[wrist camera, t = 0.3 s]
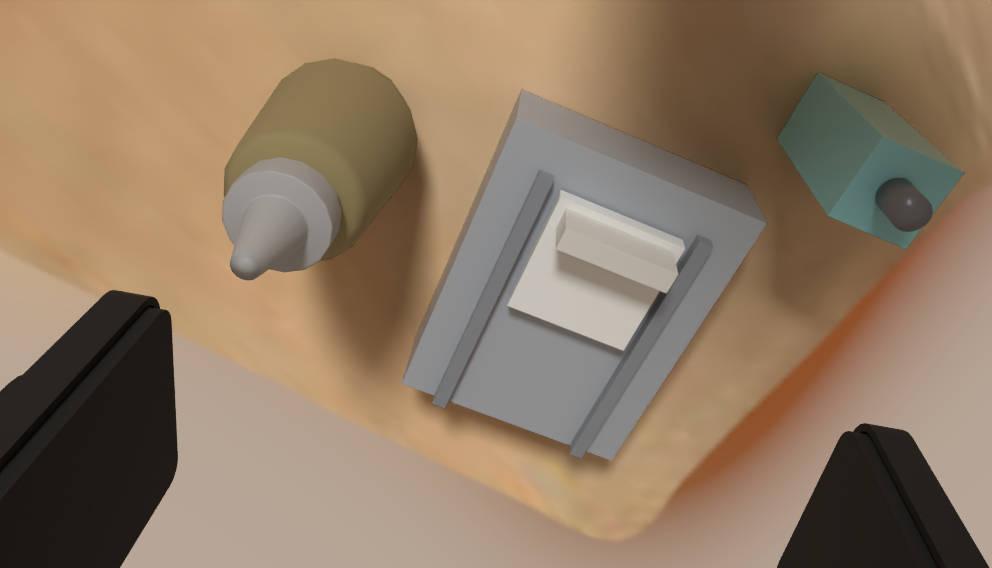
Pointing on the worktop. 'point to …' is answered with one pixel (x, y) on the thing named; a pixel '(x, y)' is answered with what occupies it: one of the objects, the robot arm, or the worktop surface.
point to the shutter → (595, 271)
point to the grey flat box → (546, 346)
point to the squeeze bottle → (315, 167)
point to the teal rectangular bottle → (866, 162)
